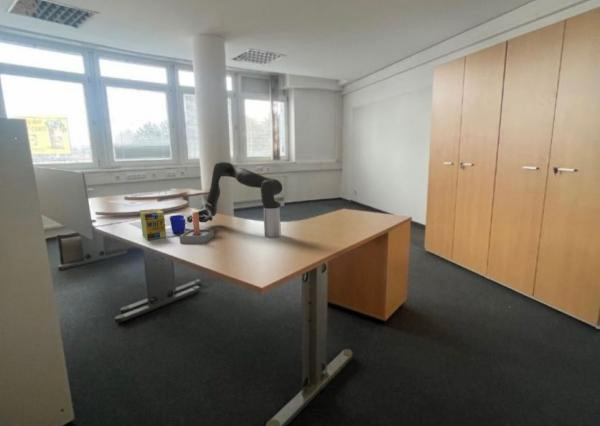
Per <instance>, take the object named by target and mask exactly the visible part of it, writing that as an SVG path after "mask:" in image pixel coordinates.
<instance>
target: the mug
mask: <svg viewBox="0 0 600 426" xmlns="http://www.w3.org/2000/svg"><path fill="white" fill-rule="evenodd" d="M169 220H170V221H169V222H170V226H171V227H170V228H171V231H172V233H175V234H177V233H183V232H184V231H185V229H186V219H185V218H184V215H181V214H177V215H176V214H175V215H170V216H169Z"/></svg>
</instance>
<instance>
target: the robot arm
mask: <svg viewBox="0 0 600 426" xmlns="http://www.w3.org/2000/svg"><path fill="white" fill-rule="evenodd" d="M221 177H228V178H229V177H230V178H234V179H236V181H237V182H238V183H239V184H240V185H244V186H246V187H250V188H257V189H260V195H261V203H262V205H263V228H264V229H263V231H264V237H265V238H268V239H275V238H280V237H281V235H282V229H281V228H282V227H281V226H282V224H281V218H280V217H281V216H280V215H281V214H280V213H281V211H280V210H281V209H280V202H279V201H277V200H275V196H276V195H279V194H280V193H282V191H283V185H282V182H280V180H278V179H276V178H271V177H267V176H264V175H261V174H258V173H256V172H253V171H251V170H249V169H245V168H241V167H238V166H237V165H235V164H233V163H230V162H229V161H228V162H226V161H218V162H216V163H214V167H213V170H212V178H211V182H210V189H209V192H208V195H207V198H206V201H207V203H203V204H202V205H201V208H200V210H199V211H197V212H198V215H199V223H207V222H212V221H213V217H215V216H216V215H217V212H218V211H217V210H218V203H219V202H218V201H219V198H220V196H221V186H220V179H221ZM186 221H187V222H188V223H190V224H191V223H193V215H188V216H187V217H186Z"/></svg>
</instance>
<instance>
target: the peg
mask: <svg viewBox="0 0 600 426" xmlns="http://www.w3.org/2000/svg"><path fill="white" fill-rule="evenodd" d="M191 213H192V217H193V219H192V220H193V221H192V223H193V225H192V226H193V230H194V236H200V230H201V228H200V222H199V215H198V211H192V212H191Z"/></svg>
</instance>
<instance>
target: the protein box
mask: <svg viewBox="0 0 600 426" xmlns="http://www.w3.org/2000/svg"><path fill="white" fill-rule="evenodd" d="M139 215H140V223H141V232H142V236H143V238H145V239H146V240H147V241H154V240H159V239H166V238H167V230H166V221H165V220H166V219H165V212H164V211H162V210H161V209H159V208H151V209H143V210H141V209H140V210H139Z"/></svg>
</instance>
